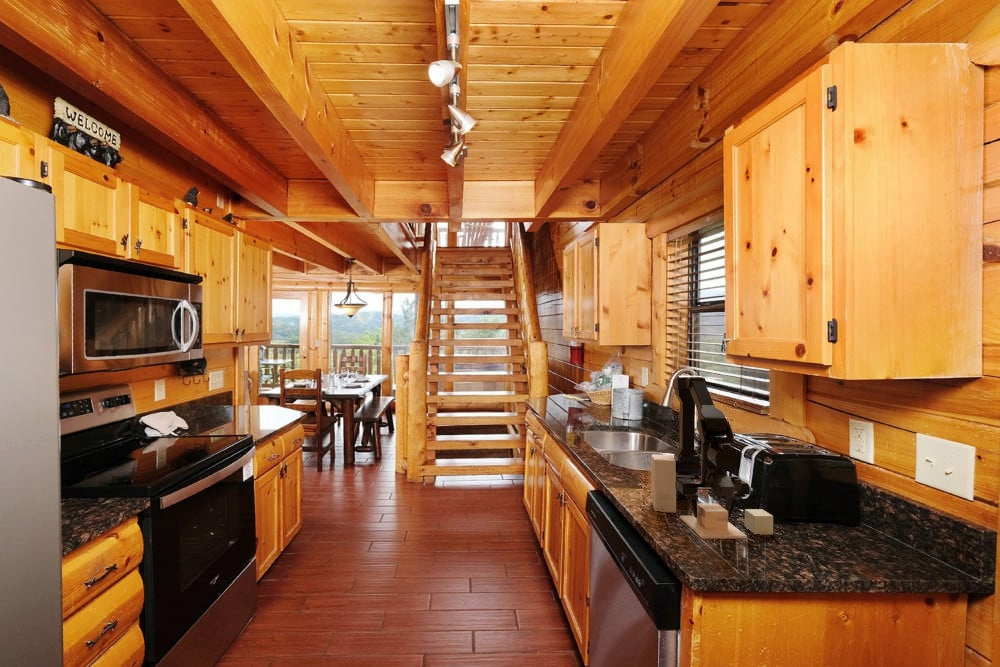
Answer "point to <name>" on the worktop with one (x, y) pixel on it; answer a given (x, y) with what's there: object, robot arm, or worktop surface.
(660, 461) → the skincare box
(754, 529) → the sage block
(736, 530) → the baseplate
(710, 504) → the maple block
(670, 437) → the worktop surface
